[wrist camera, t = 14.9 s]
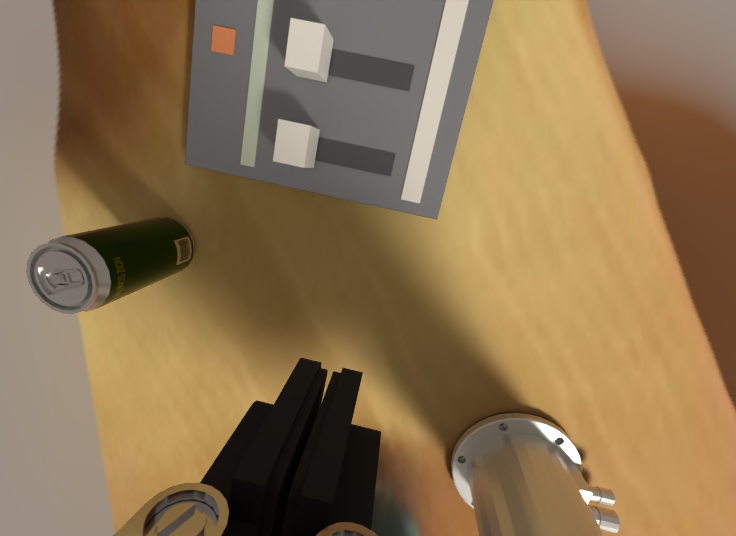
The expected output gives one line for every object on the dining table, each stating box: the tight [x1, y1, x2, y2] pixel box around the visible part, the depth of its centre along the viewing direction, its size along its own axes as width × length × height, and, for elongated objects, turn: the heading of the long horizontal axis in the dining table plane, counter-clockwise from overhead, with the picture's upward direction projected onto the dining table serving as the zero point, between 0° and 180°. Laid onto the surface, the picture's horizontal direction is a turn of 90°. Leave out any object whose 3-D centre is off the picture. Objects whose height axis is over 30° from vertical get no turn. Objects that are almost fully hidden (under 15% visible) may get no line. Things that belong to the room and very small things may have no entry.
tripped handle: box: [284, 18, 334, 82], centre depth 27 cm, size 2×3×3 cm
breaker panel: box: [185, 0, 493, 220], centre depth 28 cm, size 22×20×5 cm
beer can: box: [26, 217, 195, 314], centre depth 30 cm, size 5×5×12 cm
